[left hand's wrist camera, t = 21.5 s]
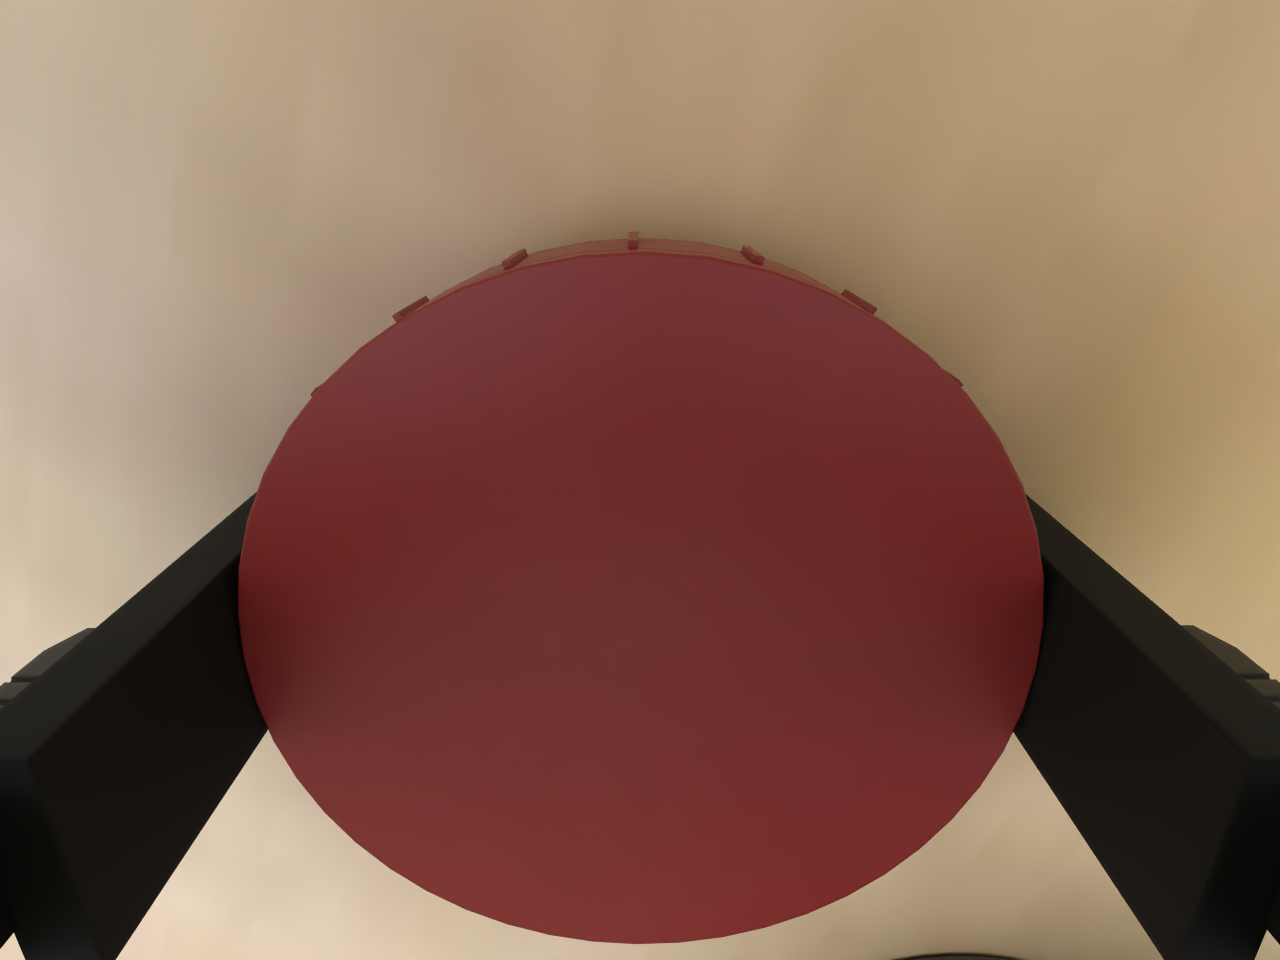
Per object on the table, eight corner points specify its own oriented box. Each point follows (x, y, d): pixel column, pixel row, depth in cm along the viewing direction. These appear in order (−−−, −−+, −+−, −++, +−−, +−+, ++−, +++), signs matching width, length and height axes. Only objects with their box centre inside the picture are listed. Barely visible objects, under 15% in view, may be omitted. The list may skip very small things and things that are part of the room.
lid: (687, 941, 15) (692, 1039, 13) (167, 644, 12) (92, 718, 11) (1141, 545, 12) (1224, 608, 10) (563, 43, 9) (546, 16, 8)
